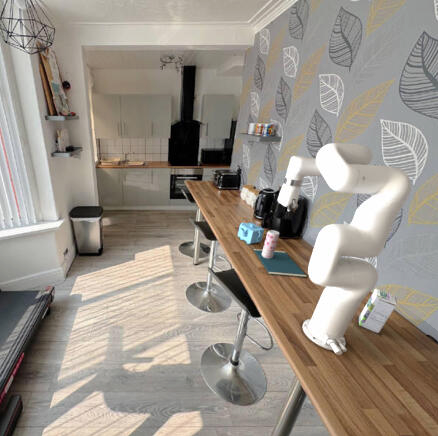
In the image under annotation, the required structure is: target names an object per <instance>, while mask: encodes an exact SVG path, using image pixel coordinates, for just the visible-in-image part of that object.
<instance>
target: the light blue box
mask: <svg viewBox="0 0 438 436" xmlns="http://www.w3.org/2000/svg"><path fill="white" fill-rule="evenodd" d="M264 234H265V229H264V228H263V227H262V226H261V225H257V224H255V223H253V222H247V223H246V222H241V223H240V224H239V228H238V231H237V237H239V238H240V240H241V241H245V243H246V244H247V245H251V244H258V243H261V242H262V240H263V238H264V237H263V236H264Z"/></svg>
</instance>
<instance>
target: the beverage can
mask: <svg viewBox="0 0 438 436" xmlns="http://www.w3.org/2000/svg"><path fill="white" fill-rule="evenodd" d="M279 237H280V232H279V231H277V230H274V229H269V230H268V231H267V233H266V236H265V240H264V244H263V248H262V250H263V251H262V256H263V257H265V258H268V259H270V258H272V257H273V254H274V251H276V247H277V244H278V240H279Z"/></svg>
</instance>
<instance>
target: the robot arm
mask: <svg viewBox="0 0 438 436" xmlns="http://www.w3.org/2000/svg"><path fill="white" fill-rule="evenodd" d="M373 157H374V154H373V150H372V149H371V148H370V147H368V146H366V145H364V144H361V143H360V144H359V143H345V142H329V143H327V144H325V145H323V146H322V147H321V148H320V149H318V151H317V154H316V157H307V156H304V155H292V156H291V157H290V159H289V163H288V166H287V169H286V174H285V177H284V181H283V183H282V186H281V188H280V190H279V193H278V196H277V206H276V210H275V212H276V213H283V212H284V208H285V207H286V208H287V211H285V214H284V219H285V220H289V221H290V220H293V216H294V214H295V212H296V211H297V209H298V207H299V204H298V201H299V197H300V194H301V193H300V192H301V188H302V185H303V182H304V179H305V177H306V176H307V177H323V179H324V181H325V182H326V183H327V185H328V187H329V188H330V189H331V190H332V191H334V192H337V193H341V194H342V193H343V194H354V195H355V194H358V195H370V197H368V198H367V199H366V200H365V201H363V202H362V203H361V204H360V205H359V206H358V207H357V208H356V210H355V212H354V215H353V218H352V220H351V222H350V223H349V224H345V223H330V224H328V225H325V226H324V227H322V228H321V230H320V231H319V232H318V235H317V237H316V240H315V242H314V245H313V246H314V247H313V249H312V253H311V256H310V259H309V263H308V268H307V273H308V278H309V279H310V281H311V282H312V283H313V284H315V285H316V286H320V287H325V288H324V289H323V291H322V293H321V295H320V297H319V300H318V302H317V305H316V307H315V309H314V311H313V314H312V316H311V318H308V319H306V320H304V321H303V323H302V331H303V333H304V334H305V335H306V337H307V338H308V339H309V340H310V341H312V342H313V343H314V344H316V345H317V346H319V347H322V348H323V349H326V350H329V351H333V352H334V353H335V355H336V356H341V355H343V353H347V351H348V349H347V348H346V343H347V342H346V339H345V337H344V335H345V333H346V331H347V329H348V328H349V326H350V324H351V322H352V320H353V318H354V316H355V315H356V313H357V311H358V309H359V307H360V306H361V303H362V302H363V300H364V299H365V298H366V296H367V295H368V294H369V293H370V292H371V291H372V290H373V289H374V288H375V287H376V285H377V283H378V280H379V272H378V270H377V268H376V267H375V266H374V265H373V264H372V263H371V262H369V261H367V260H364V259H372V258H376V257H378V256H379V255H380V254H381V253H382V251H383V250H384V248H385V246H386V243H387V241H388V238H389V237H390V234H391V231H392V229H393V226H394V224H395V221H396V219H397V217H398V215H399V214H400V212H401V211H402V209H403V207H404V205H406V203H407V201H408V200H409V197H410V194H411V192H412V180H411V178H410V176H409V175H408V174H407V172H406V171H404V170H402V169H400V168H397V167H393V166H388V165H379V164H378V165H377V164H371V162H372V161H373Z"/></svg>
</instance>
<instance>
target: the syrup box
mask: <svg viewBox="0 0 438 436" xmlns="http://www.w3.org/2000/svg"><path fill="white" fill-rule="evenodd" d="M397 306H398V300H397V296H396V295H395V294H392V293H390V292H387V291H385V290H382V289H378V288H375V289H374V290H373V292H372V294H371V296H370V297H369V299H368V301H367V303H366V304H365V306H364V307H363V309H362V311H361V312H360V314H359V317H358V325H359V326H360V327H362V328H364V329H367V330H370V331H371V332H374V333H376V334H379V333H381V331H382V329H383V327H384V326H385V324H386V322H388V319H389V318H390V316H391V315H392V313H393V312H394V310H395V308H396V307H397Z"/></svg>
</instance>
